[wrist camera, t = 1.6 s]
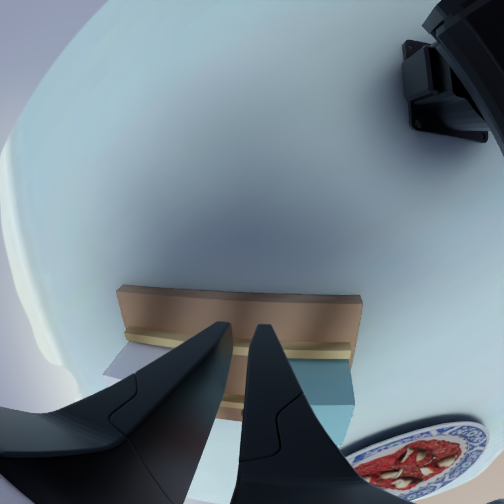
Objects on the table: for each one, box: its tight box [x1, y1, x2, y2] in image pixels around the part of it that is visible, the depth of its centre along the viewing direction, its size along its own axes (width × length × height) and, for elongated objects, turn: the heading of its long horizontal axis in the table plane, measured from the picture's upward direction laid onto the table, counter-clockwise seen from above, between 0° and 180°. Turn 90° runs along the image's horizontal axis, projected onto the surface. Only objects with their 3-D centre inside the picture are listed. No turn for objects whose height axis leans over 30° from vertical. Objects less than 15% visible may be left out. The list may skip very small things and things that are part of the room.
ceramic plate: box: [345, 421, 489, 501], centre depth 27 cm, size 26×26×3 cm
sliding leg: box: [288, 358, 355, 445], centre depth 20 cm, size 5×9×5 cm, turn 2°
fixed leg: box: [103, 341, 174, 387], centre depth 22 cm, size 5×9×5 cm, turn 2°
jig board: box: [116, 285, 363, 421], centre depth 23 cm, size 19×14×2 cm
